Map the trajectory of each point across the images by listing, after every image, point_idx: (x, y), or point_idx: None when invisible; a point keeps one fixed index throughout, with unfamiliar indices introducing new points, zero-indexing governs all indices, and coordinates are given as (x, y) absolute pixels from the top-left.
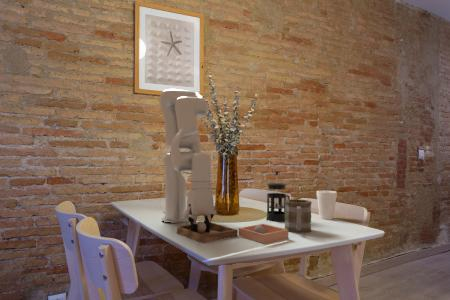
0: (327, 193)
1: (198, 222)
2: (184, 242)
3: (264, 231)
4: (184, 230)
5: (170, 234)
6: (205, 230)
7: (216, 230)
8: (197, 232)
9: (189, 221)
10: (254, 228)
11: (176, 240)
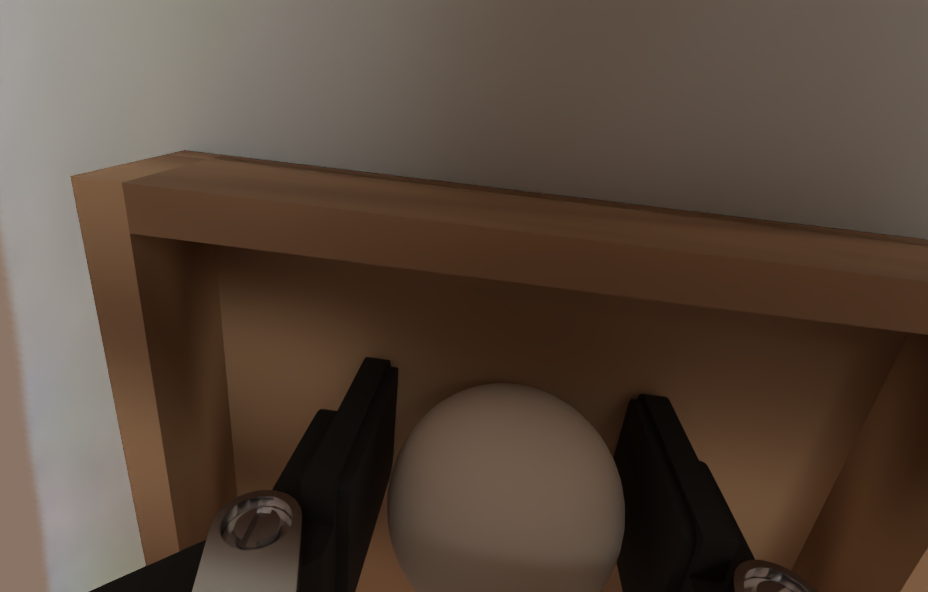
0: None
1: (440, 587)
2: (108, 523)
3: None
4: (138, 446)
5: (88, 47)
6: (620, 457)
7: (829, 491)
8: (493, 376)
9: (172, 572)
10: None
11: (51, 407)
